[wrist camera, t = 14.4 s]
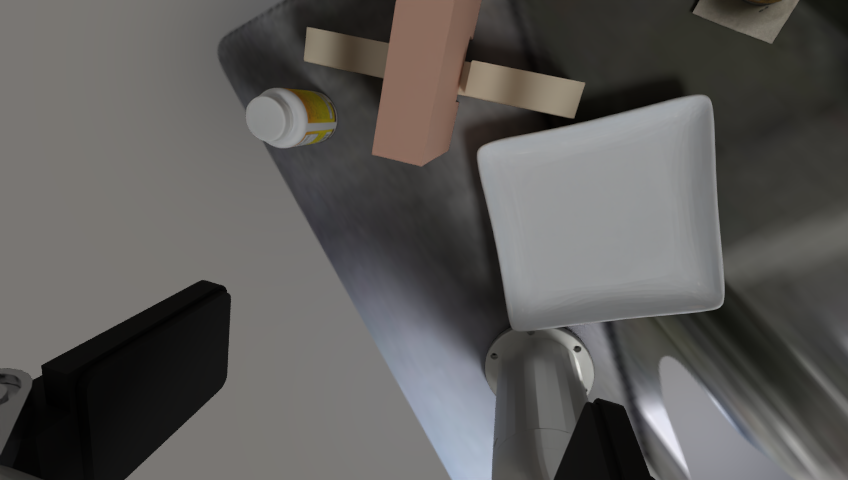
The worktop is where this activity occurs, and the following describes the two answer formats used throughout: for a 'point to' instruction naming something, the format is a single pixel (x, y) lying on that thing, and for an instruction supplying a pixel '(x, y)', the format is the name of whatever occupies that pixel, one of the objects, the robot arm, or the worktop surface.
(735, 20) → the condiment
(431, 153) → the pink rectangular slab
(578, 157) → the salad plate
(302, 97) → the supplement bottle
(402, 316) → the worktop surface
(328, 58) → the birch rail
